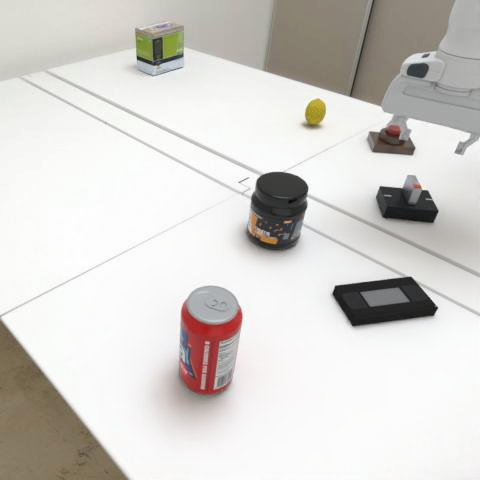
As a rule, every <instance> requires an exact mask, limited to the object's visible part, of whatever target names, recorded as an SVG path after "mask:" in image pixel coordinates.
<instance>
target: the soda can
mask: <svg viewBox="0 0 480 480" xmlns="http://www.w3.org/2000/svg"><path fill="white" fill-rule="evenodd" d="M243 316H244V315H243V310H242V307H241V306H240V304H239V300H238V298H237V297H236V295H235V294H234V293H233V292H231V291H230V290H229V289H227V288H225V287H222V286H219V285H203V286H199V287H197V288H195V289H193V290H192V291H191V292H190V293H189V294H188V297H186V299H185V300H184V301H183V304H182V306H181V309H180V321H179V323H180V325H179V347H178V349H179V350H178V374H179V377H180V380H181V382H182V383H183V385H184V386H185V387H186V388H188V389H189V390H190V391H192V392H194V393H197V394H200V395H208V396H209V395H210V396H211V395H216V394H219V393H221V392H223V391H225V390H226V389H227V388H228V387H229V386H230V385H231V382H232V380H233V378H234V372H235V367H236V361H237V356H238V355H237V354H238V348H239V344H240V343H239V342H240V336H241V330H242V325H243Z"/></svg>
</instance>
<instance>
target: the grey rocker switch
mask: <svg viewBox="0 0 480 480" xmlns="http://www.w3.org/2000/svg"><path fill="white" fill-rule="evenodd" d="M402 185H403V186H402V187H401V188H402V193H403V195H404V197H405V200H406V202H407V204H408V205H416V203H417V200H418V198H419V196H420V193H421V191H422V190H423V187H422V185H421V184H420V182H419V179H418V178H417V176H416V175H415V174H407V176H406V178H405V180H404V182H403V184H402Z"/></svg>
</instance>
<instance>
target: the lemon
mask: <svg viewBox="0 0 480 480" xmlns="http://www.w3.org/2000/svg"><path fill="white" fill-rule="evenodd" d="M326 113H327V106H326V103H325V102H324V101H323V100H322V99H320V98H319V97H317V98H315V99H312V100H310V101H309V102H308V104H307V105H306V108H305V111H304V118H305V121H306V122H307V123H309V125H311V126H313V127H314V126H315V125H318V124H320V123H321V122H323V121H324V118H325V116H326Z"/></svg>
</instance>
